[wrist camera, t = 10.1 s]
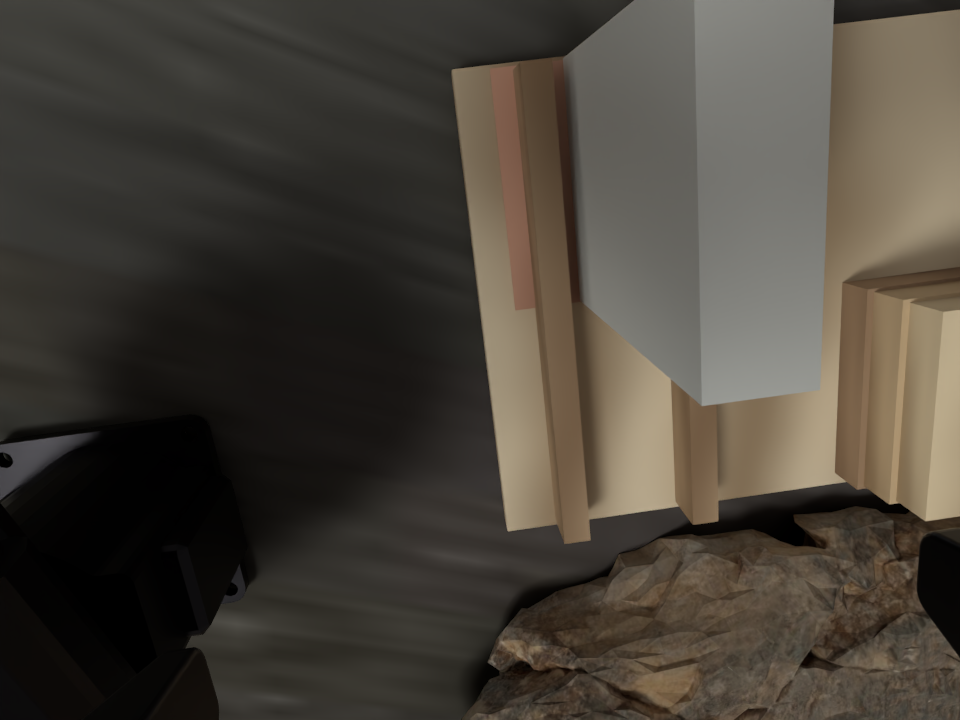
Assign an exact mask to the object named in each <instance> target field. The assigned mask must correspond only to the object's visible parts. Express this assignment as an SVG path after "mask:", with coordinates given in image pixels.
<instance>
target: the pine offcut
mask: <svg viewBox="0 0 960 720" xmlns="http://www.w3.org/2000/svg"><path fill="white" fill-rule="evenodd" d="M896 501H897V502H899V503H900V504H901V505H903V506H904V507H906V508H907V509H909V510H910V511H911V512H913V513H914V514H916V515H917V516H918V517H920V518H921V519H923V520H924V521H932V520H938V519H945V518H952V517H958V516H960V296H956V297H948V298H941V299H933V300H926V301H919V302H911V303H910V310H909V324H908V339H907V353H906V367H905V381H904V395H903V409H902V423H901V438H900V452H899V466H898V480H897V494H896Z"/></svg>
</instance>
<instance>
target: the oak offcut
mask: <svg viewBox="0 0 960 720" xmlns="http://www.w3.org/2000/svg"><path fill="white" fill-rule="evenodd" d="M956 296H960V281H952V282H945V283H937V284H930V285H923V286H915V287H908V288H900V289H893V290H886V291H878V292H874V305H873V323H872V342H871V360H870V378H869V397H868V415H867V433H866V452H865V470H864V487H866V488H867V489H869V490H870V491H871V492H873V493H874V494H875V495H877V496H878V497H880V498H881V499H882V500H884V501H885V502H886V503H888V504H889V505H890V504H897V503H899V502H897V501H896V494H897V480H898V466H899V452H900V438H901V423H902V409H903V395H904V381H905V367H906V353H907V339H908V324H909V310H910V303H911V302H919V301H926V300H933V299H941V298H948V297H956Z"/></svg>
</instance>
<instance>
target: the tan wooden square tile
mask: <svg viewBox="0 0 960 720" xmlns="http://www.w3.org/2000/svg"><path fill="white" fill-rule="evenodd" d="M952 281H960V267H955V268H947V269H940V270H932V271H925V272H917V273H910V274H902V275H895V276H888V277H880V278H873V279H865V280H858V281H850V282H843V283H842V304H841V329H840V354H839V378H838V403H837V428H836V453H835V473H836V474H837V475H838V476H840V477H841V478H842V479H844V480H845V481H846V482H848V483H849V484H850V485H852V486H853V487H854V488H856V489H857V490H858V489H865V488H866V487H864V470H865V452H866V433H867V415H868V397H869V378H870V360H871V342H872V323H873V305H874V292H878V291H886V290H893V289H900V288H908V287H915V286H923V285H930V284H937V283H945V282H952Z"/></svg>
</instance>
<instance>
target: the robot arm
mask: <svg viewBox="0 0 960 720" xmlns="http://www.w3.org/2000/svg"><path fill="white" fill-rule="evenodd" d="M185 427H192V428H193V429H195V430H196V432H197V437H190V436H188V435H187V434H186V432H185ZM3 453H7V454H9V455H10V456H11V457H12V459H13V462H9V461H8V460H6V459H5V458H4V456H3ZM0 499H1V500H0V720H219V705H218V700H217V696H216V693H215V689H214V686H213V683H212V679H211V676H210V672H209V669H208V666H207V662H206V659H205V656H204V654H203V653H202V651H201V650H200V649H198V648H195V647H193V648H187V649H185V648H186V646H187V644H188V642H189V640H190V638H191V636H196V635H203V634H204V633H205V631H206V630H207V629H208V628H209V626H210V625H211V623H212V621H213V619H214V617H215V615H216V613H217V611H218V609H219V607H220V604H224V603H231V602H235V601H238V600H240V599H241V598H242V597H243V596H244V594H245V592H246V589H247V587H248V585H249V583H248V576H247V572H246V568H245V564H244V560H243V556H244V554H245V552H246V550H247V542H246V538H245V534H244V530H243V526H242V522H241V518H240V514H239V510H238V506H237V502H236V498H235V494H234V490H233V486H232V482H231V480H229V479H228V478H227V477H226V476H224V475H222V474H221V470H220V466H219V462H218V458H217V454H216V451H215V447H214V443H213V439H212V435H211V431H210V427H209V425H208V423H207V422H206V421H205V420H204V419H203V418H202V417H200V416H197V415H184V416H177V417H169V418H162V419H155V420H147V421H140V422H133V423H125V424H118V425H111V426H103V427H96V428H89V429H81V430H74V431H67V432H59V433H52V434H45V435H38V436H30V437H23V438H16V439H8V440H4V441H1V442H0ZM230 583H234V584H235V585H236V586H237V587H238V588H230V587H229V586H230ZM916 587H917V595H918V598H919V601H920V603H921V605H922V607H923V609H924V610H925V612H926V613H927V614H928V616H929V617H930V619H931V620H932V621H933V623H934V624H935V625H936V627H937V628H938V629H939V631H940V632H941V633H942V635H943V636H944V637H945V639H946V640H947V641H948V643H949V644H950V646H951V647H952V648H953V650H954V651H955V652H956V654H957V655H958V656H959V658H960V528H950V529H943V530H937V531H931V532H928V533H926V534H925V535H923V537H922V539H921V540H920V547H919V560H918V572H917V585H916Z"/></svg>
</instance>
